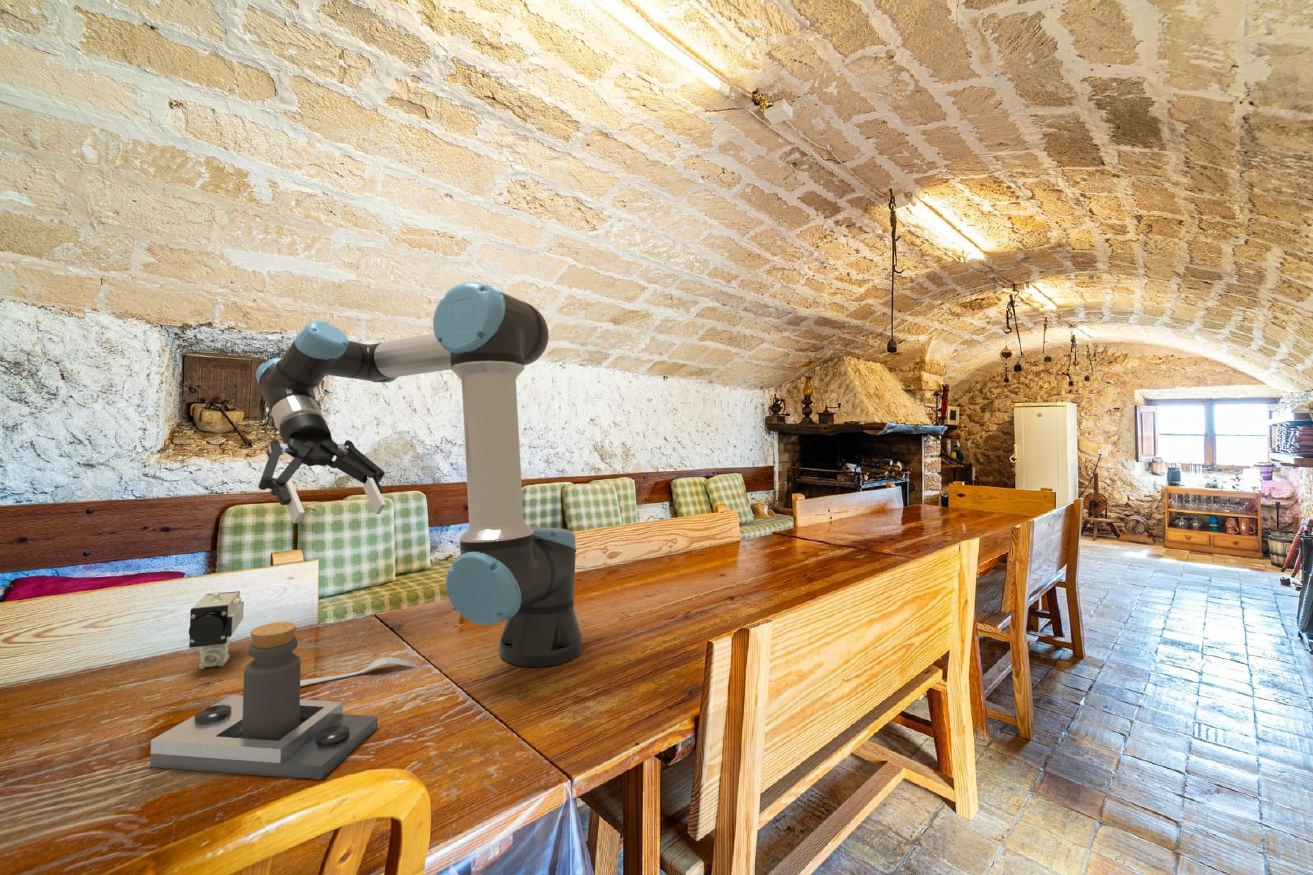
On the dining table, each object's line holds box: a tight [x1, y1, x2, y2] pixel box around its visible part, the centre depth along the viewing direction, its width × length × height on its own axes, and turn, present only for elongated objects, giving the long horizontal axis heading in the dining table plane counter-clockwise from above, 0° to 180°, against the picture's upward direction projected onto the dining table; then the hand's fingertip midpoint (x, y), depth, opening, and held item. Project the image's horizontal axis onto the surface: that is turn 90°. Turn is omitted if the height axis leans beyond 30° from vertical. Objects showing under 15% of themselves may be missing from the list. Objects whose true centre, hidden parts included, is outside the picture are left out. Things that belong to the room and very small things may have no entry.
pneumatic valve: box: [188, 590, 244, 670], centre depth 90 cm, size 6×12×12 cm, turn 28°
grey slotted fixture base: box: [149, 694, 379, 781], centre depth 67 cm, size 21×11×4 cm, turn 86°
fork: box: [300, 656, 417, 688], centre depth 87 cm, size 3×21×3 cm, turn 120°
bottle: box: [242, 621, 302, 741], centre depth 67 cm, size 6×6×15 cm
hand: (342, 513), depth 91 cm, fingers open, 13 cm apart
